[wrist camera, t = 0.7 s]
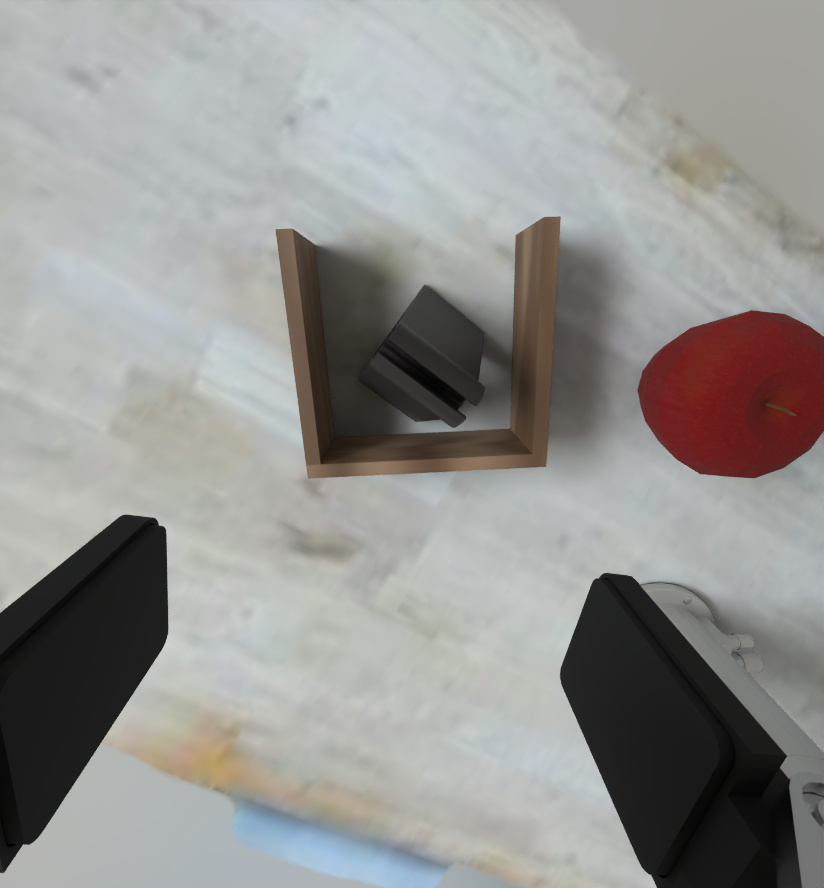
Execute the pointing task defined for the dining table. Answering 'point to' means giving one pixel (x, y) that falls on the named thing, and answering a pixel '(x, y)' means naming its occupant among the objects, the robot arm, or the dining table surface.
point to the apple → (737, 394)
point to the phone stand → (428, 362)
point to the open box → (443, 448)
